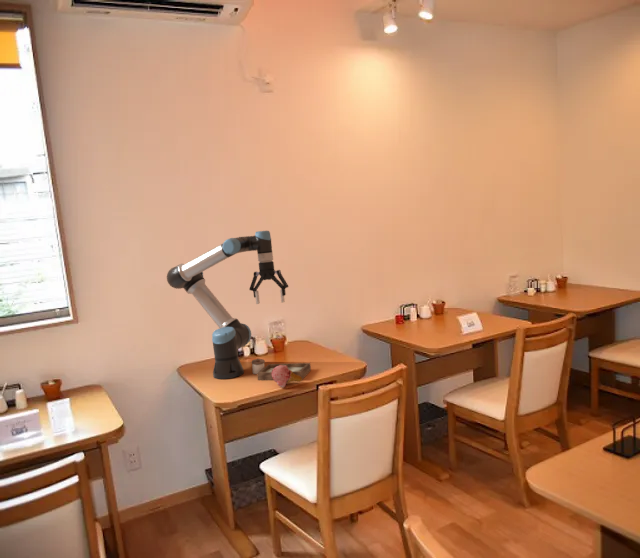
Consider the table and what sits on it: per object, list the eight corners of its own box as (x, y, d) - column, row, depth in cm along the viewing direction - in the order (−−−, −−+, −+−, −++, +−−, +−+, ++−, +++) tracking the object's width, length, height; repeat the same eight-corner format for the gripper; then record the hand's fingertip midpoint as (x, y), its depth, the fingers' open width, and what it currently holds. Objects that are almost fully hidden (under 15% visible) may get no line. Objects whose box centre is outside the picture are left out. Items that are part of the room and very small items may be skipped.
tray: (258, 381, 270) (257, 373, 270) (269, 371, 285) (268, 364, 285) (301, 380, 264) (300, 372, 264) (310, 370, 280) (310, 362, 279)
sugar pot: (255, 370, 287) (255, 356, 285) (267, 372, 285) (266, 357, 283) (249, 375, 281) (249, 360, 279) (261, 376, 279) (260, 362, 277)
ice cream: (297, 374, 268) (268, 367, 263) (306, 366, 261) (276, 358, 256) (296, 395, 262) (266, 388, 257) (304, 387, 255) (274, 380, 250)
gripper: (240, 264, 283) (244, 305, 285) (286, 260, 276) (291, 302, 278) (245, 262, 290) (250, 303, 292) (291, 258, 283) (296, 300, 285)
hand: (270, 303), depth 285 cm, fingers open, 13 cm apart
